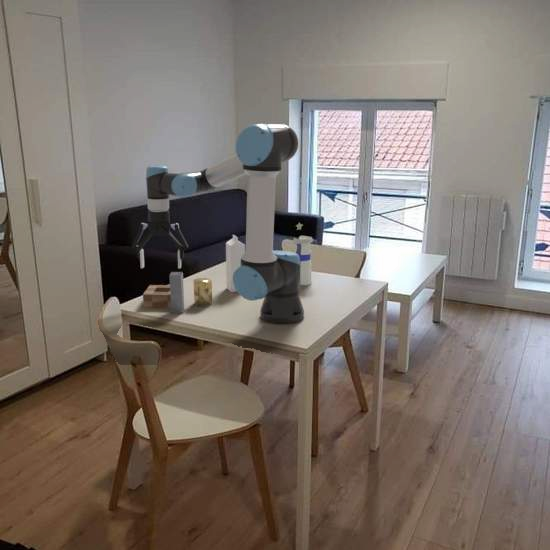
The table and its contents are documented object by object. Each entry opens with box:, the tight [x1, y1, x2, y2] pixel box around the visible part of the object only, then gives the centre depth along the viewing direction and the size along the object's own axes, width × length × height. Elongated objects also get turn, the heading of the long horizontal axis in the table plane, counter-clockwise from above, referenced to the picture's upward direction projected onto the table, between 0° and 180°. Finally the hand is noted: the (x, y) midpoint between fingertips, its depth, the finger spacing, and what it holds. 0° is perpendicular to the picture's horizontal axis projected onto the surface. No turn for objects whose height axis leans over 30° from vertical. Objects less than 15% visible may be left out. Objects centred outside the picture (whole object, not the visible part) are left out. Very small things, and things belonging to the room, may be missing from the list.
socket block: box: [142, 284, 171, 309], centre depth 210 cm, size 12×12×5 cm
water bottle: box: [293, 221, 314, 286], centre depth 233 cm, size 8×9×25 cm
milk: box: [225, 234, 246, 293], centre depth 224 cm, size 6×6×22 cm
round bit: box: [193, 277, 213, 308], centre depth 208 cm, size 7×7×9 cm
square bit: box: [169, 271, 185, 314], centre depth 199 cm, size 4×4×14 cm
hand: (161, 267), depth 207 cm, fingers open, 13 cm apart
